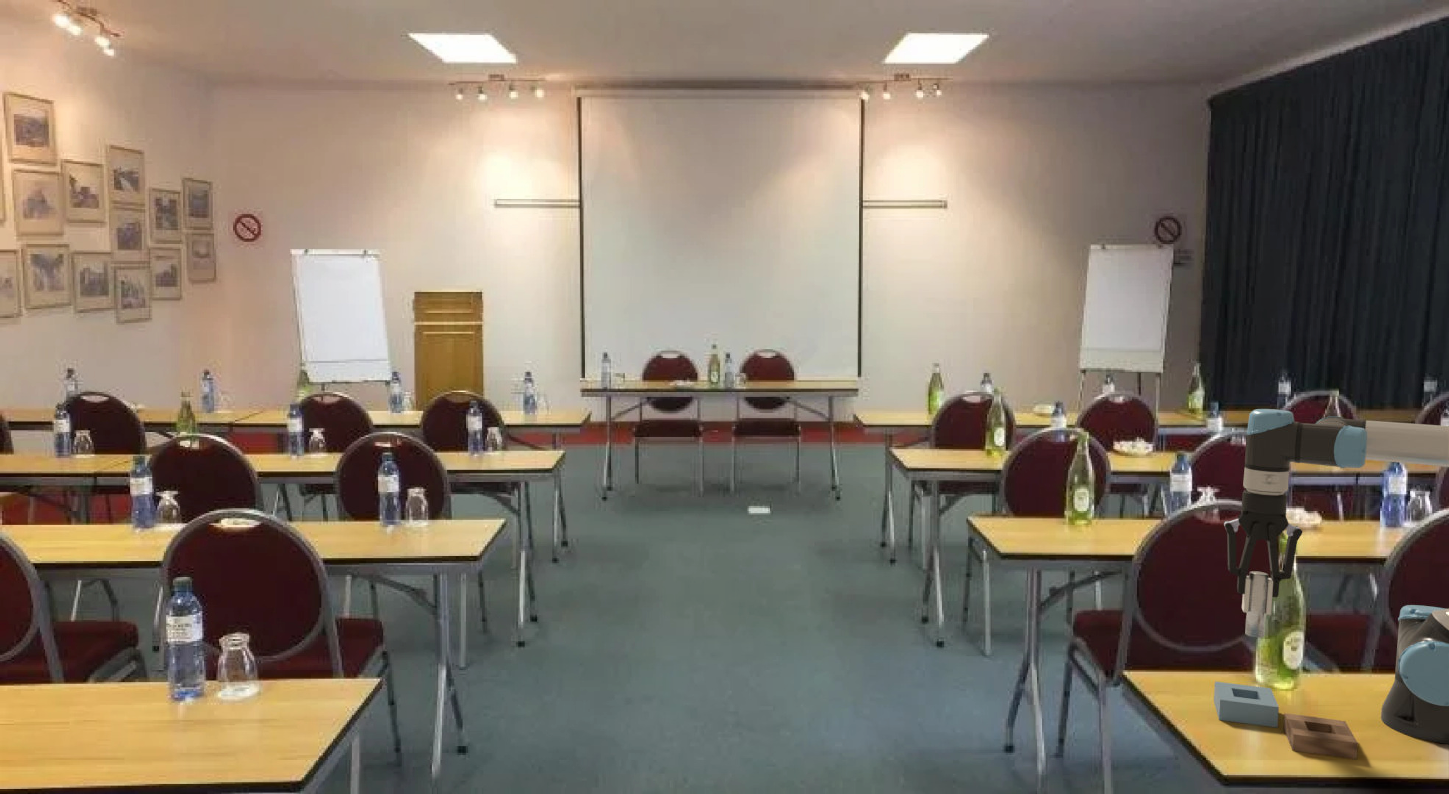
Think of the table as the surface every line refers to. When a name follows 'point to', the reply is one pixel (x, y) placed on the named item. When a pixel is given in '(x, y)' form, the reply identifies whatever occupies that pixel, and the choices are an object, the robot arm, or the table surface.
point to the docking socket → (1246, 704)
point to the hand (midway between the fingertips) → (1256, 611)
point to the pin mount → (1320, 736)
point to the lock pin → (1257, 604)
